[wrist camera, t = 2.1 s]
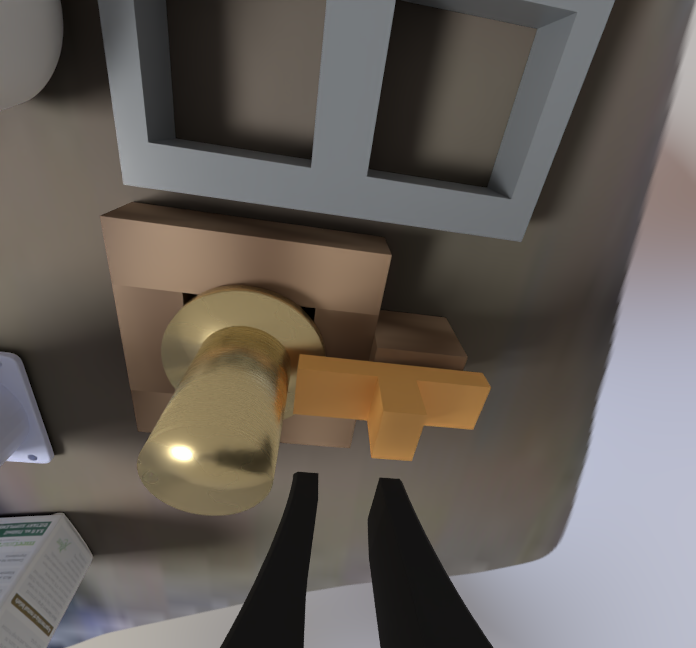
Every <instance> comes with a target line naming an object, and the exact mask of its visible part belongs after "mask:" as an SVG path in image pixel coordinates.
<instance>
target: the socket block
mask: <svg viewBox="0 0 696 648" xmlns="http://www.w3.org/2000/svg"><path fill="white" fill-rule="evenodd" d="M100 220H101V225H102V231H103V237H104V242H105V248H106V254H107V259H108V265H109V271H110V276H111V282H112V287H113V293H114V299H115V304H116V310H117V316H118V321H119V327H120V333H121V338H122V344H123V350H124V355H125V361H126V367H127V372H128V378H129V384H130V389H131V395H132V401H133V406H134V412H135V418H136V423H137V429H138V432H150V433H151V432H152V431H153V429H154V427H155V425H156V424H157V422H158V420H159V418H160V417H161V415H162V413H163V411H164V410H165V408H166V406H167V404H168V403H169V401H170V399H171V397H172V396H173V394H174V392H175V388H174V387H173V386H172V384H171V383H170V381H169V379H168V377H167V375H166V373H165V370H164V367H163V363H162V358H161V345H162V339H163V336H164V333H165V330H166V328H167V326H168V325H169V323H170V322H171V320H172V319H173V318H174V316H175V315H176V314H177V312H178V311H179V310H180V309H181V307H183V306H184V305H185V304H186V303H187V302H188V301H189V300H191V299H192V298H194V297H195V296H197V295H199V294H201V293H203V292H205V291H208V290H211V289H214V288H217V287H223V286H231V285H245V286H254V287H259V288H263V289H267V290H270V291H273V292H275V293H278V294H280V295H282V296H284V297H286V298H288V299H289V300H291V301H293V302H294V303H295V304H297V305H298V306H302V307H310V308H315V312H314V322H315V324H316V326H317V327H318V329H319V331H320V333H321V336H322V338H323V341H324V345H325V351H326V357H333V358H342V359H352V360H362V361H371V362H381V363H391V364H400V365H410V366H420V367H429V368H439V369H449V370H458V371H463V369H464V366H465V364H466V361H467V358H468V357H467V355H466V353H465V351H464V349H463V348H462V346H461V344H460V342H459V340H458V339H457V337H456V335H455V333H454V331H453V330H452V328H451V326H450V324H449V322H448V321H447V319H446V317H437V316H429V315H420V314H412V313H404V312H395V311H387V310H380V307H381V303H382V298H383V294H384V289H385V284H386V280H387V275H388V270H389V266H390V261H391V257H392V255H391V252H390V250H389V247H388V245H387V243H386V240H385V238H384V237H380V236H372V235H365V234H358V233H351V232H344V231H337V230H329V229H322V228H315V227H308V226H301V225H294V224H286V223H279V222H272V221H265V220H258V219H251V218H243V217H236V216H229V215H222V214H215V213H208V212H201V211H193V210H186V209H179V208H172V207H165V206H158V205H150V204H143V203H136V202H131V203H129V204H126V205H124V206H122V207H119V208H117V209H115V210H112V211H110V212H108V213H105V214H103V215H101V216H100ZM355 423H356V419H344V418H333V417H321V416H310V415H298V414H295V415H293V416H291V417H289V418H286V419H284V420H283V424H282V430H281V437H280V443H290V444H303V445H316V446H329V447H342V448H350V446H351V441H352V437H353V432H354V428H355Z"/></svg>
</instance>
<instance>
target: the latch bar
mask: <svg viewBox="0 0 696 648" xmlns="http://www.w3.org/2000/svg"><path fill="white" fill-rule="evenodd" d="M490 389H491V387H490V385H489V383H488V381H487V380H486V378H485V376H484V375H483V373H478V372H468V371H458V370H449V369H439V368H429V367H420V366H410V365H400V364H391V363H381V362H371V361H362V360H352V359H342V358H333V357H323V356H313V355H304V354H300V355H299V362H298V370H297V379H296V389H295V399H294V409H293V414H298V415H310V416H321V417H333V418H344V419H356V420H367V423H368V432H369V441H370V450H371V458H379V459H392V460H406V461H412V459H413V456H414V453H415V450H416V447H417V444H418V441H419V438H420V435H421V432H422V429H423V426H424V425H425V426H437V427H449V428H460V429H472V430H473V428H474V426H475V424H476V421H477V419H478V417H479V415H480V412H481V410H482V408H483V405H484V403H485V401H486V398H487V396H488V394H489V391H490Z"/></svg>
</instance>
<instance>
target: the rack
mask: <svg viewBox="0 0 696 648" xmlns="http://www.w3.org/2000/svg"><path fill="white" fill-rule="evenodd" d="M395 1H396V0H327V3H326V13H325V24H324V35H323V45H322V56H321V67H320V77H319V88H318V99H317V109H316V120H315V131H314V141H313V152H312V160H309V159H303V158H296V157H290V156H284V155H278V154H271V153H265V152H259V151H252V150H246V149H240V148H233V147H227V146H221V145H214V144H208V143H202V142H196V141H189V140H183V139H177V138H176V136H175V122H174V107H173V93H172V79H171V65H170V51H169V36H168V22H167V8H166V0H98V6H99V13H100V20H101V28H102V35H103V42H104V49H105V56H106V63H107V70H108V78H109V85H110V92H111V99H112V106H113V113H114V120H115V128H116V135H117V142H118V149H119V156H120V163H121V170H122V178H123V184H124V185H130V186H137V187H144V188H151V189H158V190H165V191H172V192H179V193H186V194H193V195H200V196H207V197H214V198H221V199H228V200H235V201H242V202H249V203H255V204H262V205H269V206H276V207H283V208H290V209H297V210H304V211H311V212H318V213H325V214H332V215H339V216H346V217H353V218H360V219H367V220H374V221H380V222H387V223H394V224H401V225H408V226H415V227H422V228H429V229H436V230H443V231H450V232H457V233H464V234H471V235H478V236H485V237H492V238H499V239H505V240H512V241H519V242H521V241H522V239H523V236H524V234H525V231H526V229H527V226H528V223H529V221H530V218H531V216H532V213H533V211H534V208H535V205H536V203H537V200H538V198H539V195H540V193H541V190H542V187H543V185H544V182H545V180H546V177H547V174H548V172H549V169H550V167H551V164H552V162H553V159H554V156H555V154H556V151H557V149H558V146H559V144H560V141H561V138H562V136H563V133H564V131H565V128H566V126H567V123H568V120H569V118H570V115H571V113H572V110H573V107H574V105H575V102H576V100H577V97H578V95H579V92H580V89H581V87H582V84H583V82H584V79H585V77H586V74H587V71H588V69H589V66H590V64H591V61H592V59H593V56H594V53H595V51H596V48H597V46H598V43H599V40H600V38H601V35H602V33H603V30H604V28H605V25H606V22H607V20H608V17H609V15H610V12H611V10H612V7H613V4H614V2H615V0H402V1H407V2H411V3H416V4H421V5H426V6H431V7H435V8H440V9H445V10H450V11H454V12H459V13H464V14H469V15H474V16H478V17H483V18H488V19H493V20H498V21H502V22H507V23H512V24H517V25H521V26H526V27H531V28H536V29H537V32H536V36H535V39H534V42H533V45H532V48H531V51H530V54H529V58H528V61H527V64H526V67H525V70H524V73H523V76H522V80H521V83H520V86H519V89H518V92H517V95H516V98H515V102H514V105H513V108H512V111H511V114H510V117H509V120H508V124H507V127H506V130H505V133H504V136H503V139H502V142H501V146H500V149H499V152H498V155H497V158H496V161H495V164H494V168H493V171H492V174H491V177H490V180H489V183H488V186H487V188H486V187H479V186H473V185H467V184H460V183H454V182H448V181H441V180H435V179H429V178H423V177H416V176H410V175H404V174H397V173H391V172H385V171H378V170H372V169H368V166H369V160H370V154H371V148H372V142H373V136H374V129H375V123H376V117H377V111H378V105H379V99H380V93H381V87H382V81H383V75H384V69H385V62H386V56H387V50H388V44H389V38H390V32H391V26H392V20H393V14H394V8H395Z"/></svg>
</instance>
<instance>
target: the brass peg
mask: <svg viewBox="0 0 696 648" xmlns="http://www.w3.org/2000/svg"><path fill="white" fill-rule="evenodd" d="M300 354H304V355H313V356H323V357H326V351H325V345H324V341H323V338H322V336H321V333H320V331H319V329H318V327H317V326H316V324H315V322H314V321H313V320H312V319H311V317H310V316H309V315H308V314H307V313H306V312H305V311H304V310H303V309H302V308H301V307H299V306H298V305H297V304H295V303H294V302H293V301H291V300H289V299H288V298H286V297H284V296H282V295H280V294H278V293H275V292H273V291H270V290H267V289H263V288H259V287H254V286H245V285H231V286H223V287H217V288H214V289H211V290H208V291H205V292H203V293H201V294H199V295H197V296H195V297H194V298H192V299H191V300H189V301H188V302H187V303H186V304H185V305H184V306H183V307H181V309H180V310H179V311H178V312H177V314H176V315H175V316H174V318H173V319H172V320H171V322H170V323H169V325H168V326H167V328H166V330H165V333H164V336H163V339H162V345H161V358H162V363H163V367H164V370H165V373H166V375H167V377H168V379H169V381H170V383H171V384H172V386H173V387H174V388H175V392H174V394H173V396H172V397H171V399H170V401H169V403H168V404H167V406H166V408H165V410H164V411H163V413H162V415H161V417H160V418H159V420H158V422H157V424H156V425H155V427H154V429H153V431H152V432H151V434H150V436H149V438H148V439H147V441H146V443H145V445H144V446H143V448H142V450H141V452H140V454H139V457H138V461H137V470H138V474H139V477H140V479H141V481H142V483H143V484H144V486H145V487H146V488H147V489H148V490H149V491H150V493H152V494H153V495H154V496H155V497H156V498H158V499H159V500H161V501H162V502H164V503H166V504H168V505H169V506H172V507H174V508H176V509H179V510H182V511H185V512H189V513H193V514H199V515H208V516H221V515H230V514H235V513H240V512H243V511H246V510H248V509H250V508H252V507H254V506H256V505H257V504H259V503H260V502H261V501H262V500H264V499H265V497H266V496H267V495H268V494H269V492H270V490H271V488H272V485H273V480H274V473H275V467H276V461H277V455H278V449H279V443H280V437H281V430H282V424H283V420H284V419H286V418H289V417H291V416H293V415H295V414H293V409H294V399H295V389H296V379H297V370H298V362H299V355H300Z"/></svg>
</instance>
